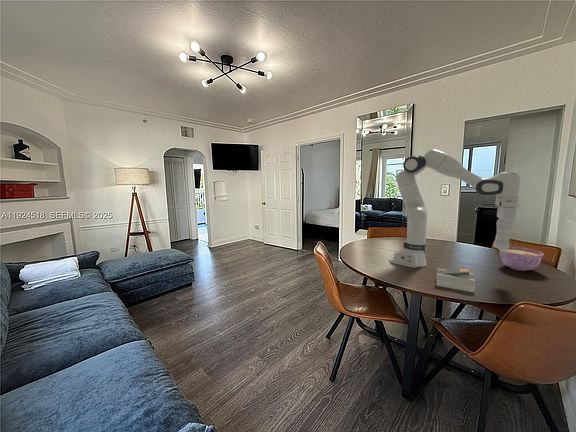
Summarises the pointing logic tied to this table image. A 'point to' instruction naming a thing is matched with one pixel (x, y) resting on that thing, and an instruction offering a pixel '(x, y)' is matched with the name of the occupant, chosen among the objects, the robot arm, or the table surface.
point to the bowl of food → (520, 258)
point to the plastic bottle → (502, 235)
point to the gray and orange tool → (455, 272)
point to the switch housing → (456, 281)
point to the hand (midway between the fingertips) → (503, 227)
